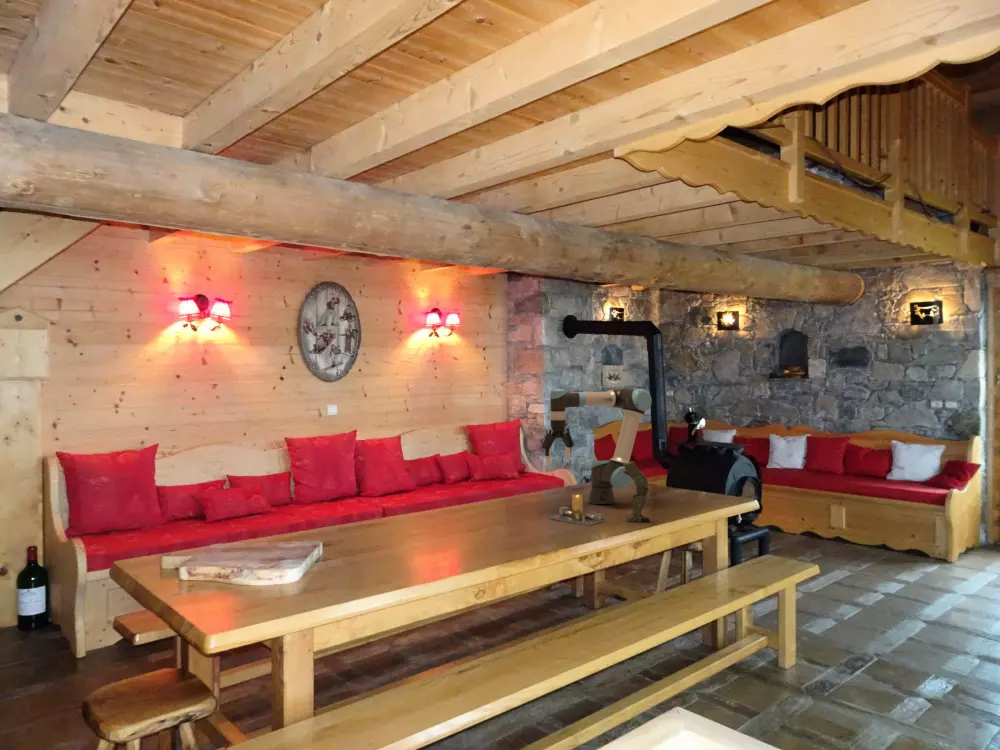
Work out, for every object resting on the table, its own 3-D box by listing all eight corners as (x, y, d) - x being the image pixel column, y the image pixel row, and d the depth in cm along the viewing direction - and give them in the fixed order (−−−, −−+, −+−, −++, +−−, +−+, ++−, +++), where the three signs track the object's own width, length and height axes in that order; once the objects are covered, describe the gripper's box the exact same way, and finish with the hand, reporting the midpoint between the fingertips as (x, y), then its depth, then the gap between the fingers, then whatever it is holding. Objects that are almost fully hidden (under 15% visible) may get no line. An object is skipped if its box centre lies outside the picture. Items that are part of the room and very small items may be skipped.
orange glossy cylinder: (577, 516, 347) (577, 493, 347) (584, 517, 344) (584, 495, 344) (570, 517, 344) (570, 494, 344) (577, 519, 340) (577, 496, 340)
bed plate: (549, 519, 346) (549, 509, 346) (566, 514, 357) (566, 505, 357) (589, 526, 331) (589, 516, 331) (605, 521, 342) (605, 511, 342)
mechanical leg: (656, 517, 345) (641, 457, 346) (657, 521, 338) (642, 459, 339) (628, 524, 347) (613, 464, 347) (629, 527, 339) (614, 466, 340)
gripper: (570, 417, 371) (570, 458, 372) (534, 420, 355) (535, 462, 356) (580, 418, 366) (580, 459, 366) (544, 421, 350) (545, 464, 350)
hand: (558, 461), depth 361 cm, fingers open, 13 cm apart
